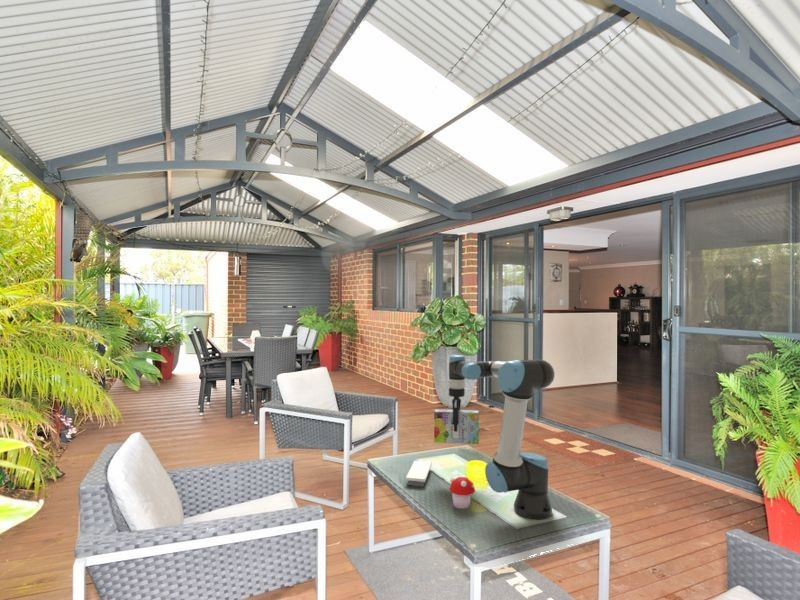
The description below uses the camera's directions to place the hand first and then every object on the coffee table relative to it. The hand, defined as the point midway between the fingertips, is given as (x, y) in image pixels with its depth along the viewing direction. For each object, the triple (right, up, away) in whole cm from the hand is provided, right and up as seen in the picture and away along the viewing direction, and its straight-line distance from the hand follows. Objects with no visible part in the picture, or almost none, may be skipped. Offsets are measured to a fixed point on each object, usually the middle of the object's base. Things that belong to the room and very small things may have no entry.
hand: (456, 435), depth 232 cm
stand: (-18, -21, +4) cm, 28 cm away
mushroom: (-1, -22, -27) cm, 35 cm away
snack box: (0, -3, 0) cm, 3 cm away
